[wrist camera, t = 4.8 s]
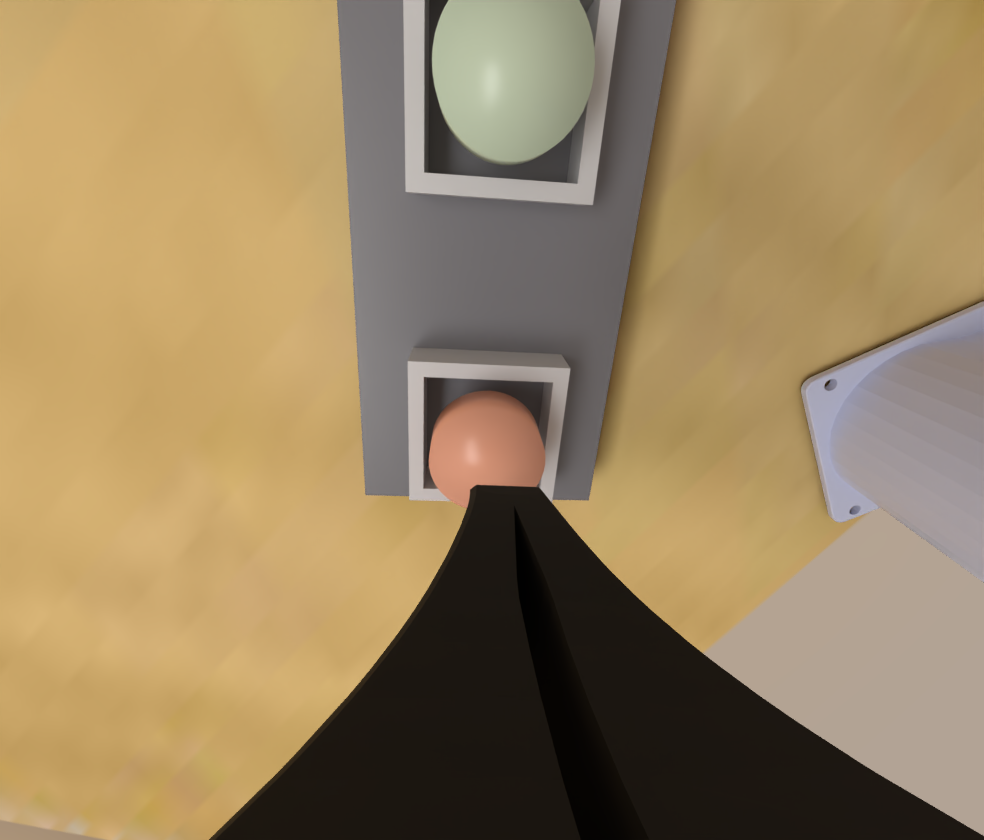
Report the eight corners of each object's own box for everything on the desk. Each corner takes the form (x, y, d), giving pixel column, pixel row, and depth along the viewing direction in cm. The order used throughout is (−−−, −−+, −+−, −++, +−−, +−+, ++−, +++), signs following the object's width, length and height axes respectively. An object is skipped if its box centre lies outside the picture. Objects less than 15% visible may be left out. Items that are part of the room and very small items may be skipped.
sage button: (437, -18, 11) (432, -50, 9) (590, -2, 11) (607, -31, 10) (435, 160, 12) (431, 154, 11) (569, 170, 13) (582, 165, 11)
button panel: (318, -712, 9) (239, -1211, 6) (752, -621, 10) (894, -1029, 7) (374, 469, 20) (357, 519, 17) (578, 475, 21) (598, 524, 18)
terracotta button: (432, 388, 15) (429, 406, 14) (544, 392, 15) (551, 411, 14) (431, 484, 16) (428, 509, 15) (533, 487, 17) (539, 512, 15)
